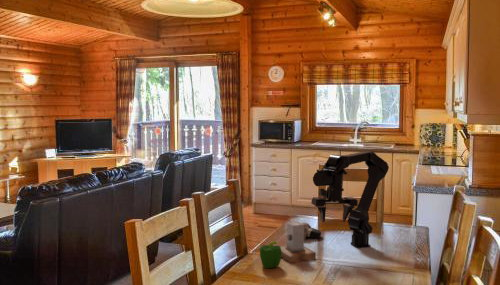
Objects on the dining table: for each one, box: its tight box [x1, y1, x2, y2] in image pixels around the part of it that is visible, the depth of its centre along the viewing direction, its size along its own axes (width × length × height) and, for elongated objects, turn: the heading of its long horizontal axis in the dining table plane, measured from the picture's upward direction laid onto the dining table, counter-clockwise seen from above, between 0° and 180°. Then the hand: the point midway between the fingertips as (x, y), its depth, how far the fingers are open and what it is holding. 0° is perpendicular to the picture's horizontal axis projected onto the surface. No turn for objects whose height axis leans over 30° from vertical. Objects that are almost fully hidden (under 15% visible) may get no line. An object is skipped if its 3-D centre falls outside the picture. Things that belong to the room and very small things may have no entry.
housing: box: [284, 221, 305, 253], centre depth 200 cm, size 6×6×11 cm
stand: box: [280, 245, 317, 264], centre depth 201 cm, size 12×12×3 cm
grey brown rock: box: [301, 222, 322, 241], centre depth 228 cm, size 7×11×10 cm
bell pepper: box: [259, 241, 282, 269], centre depth 189 cm, size 8×8×10 cm
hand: (333, 222), depth 205 cm, fingers open, 9 cm apart
